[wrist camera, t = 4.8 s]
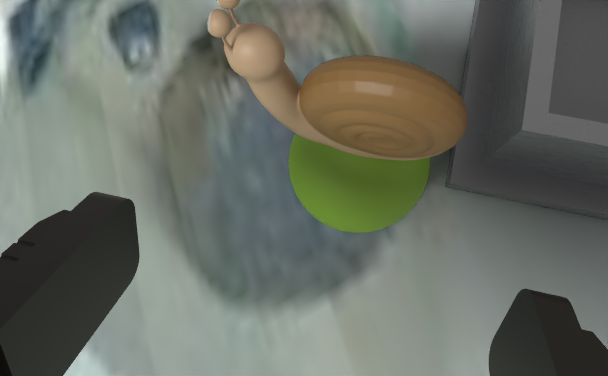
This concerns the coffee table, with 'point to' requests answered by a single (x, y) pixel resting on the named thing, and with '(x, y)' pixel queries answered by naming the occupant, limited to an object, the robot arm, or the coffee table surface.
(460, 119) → the snail figurine
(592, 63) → the duct collar
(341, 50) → the coffee table surface
